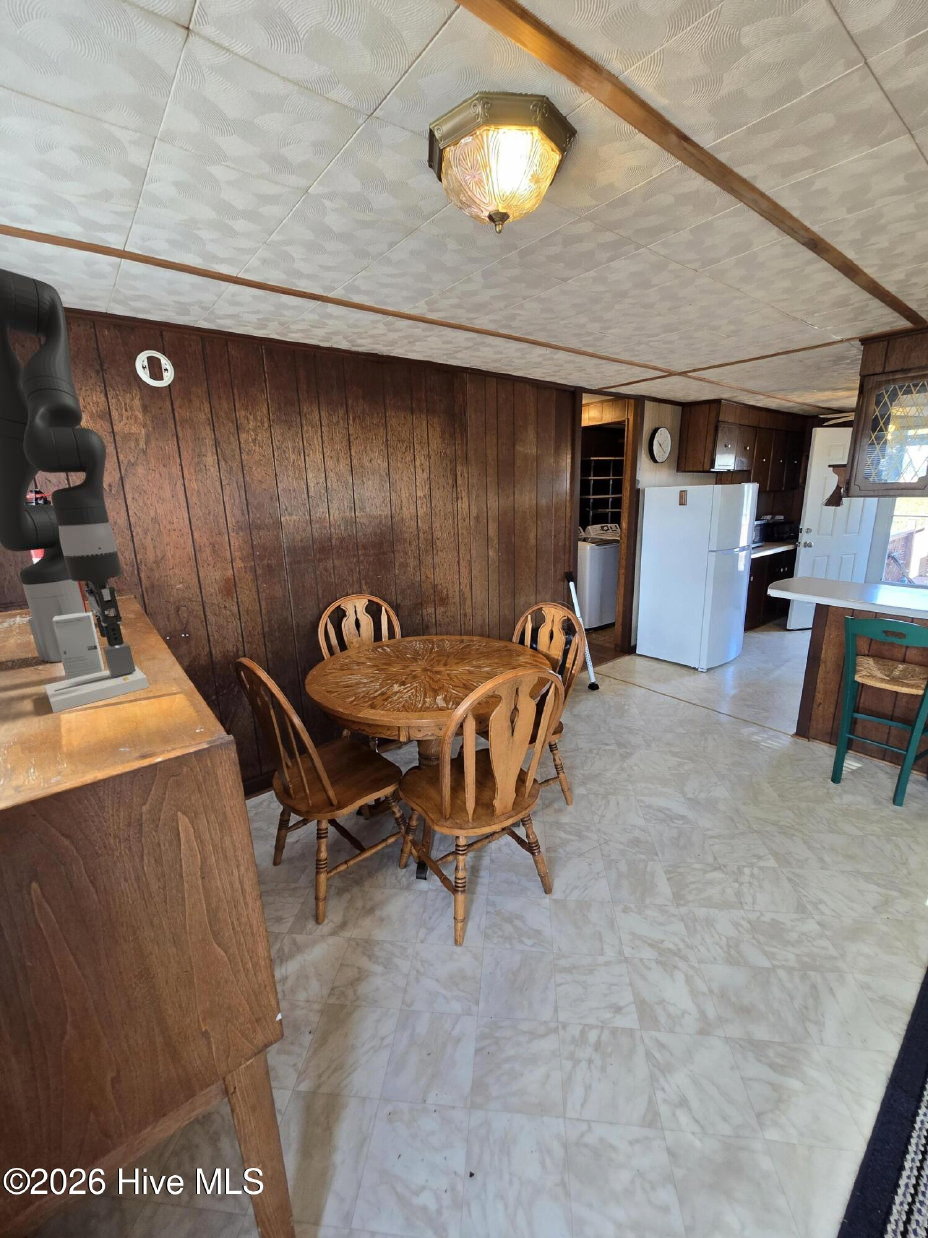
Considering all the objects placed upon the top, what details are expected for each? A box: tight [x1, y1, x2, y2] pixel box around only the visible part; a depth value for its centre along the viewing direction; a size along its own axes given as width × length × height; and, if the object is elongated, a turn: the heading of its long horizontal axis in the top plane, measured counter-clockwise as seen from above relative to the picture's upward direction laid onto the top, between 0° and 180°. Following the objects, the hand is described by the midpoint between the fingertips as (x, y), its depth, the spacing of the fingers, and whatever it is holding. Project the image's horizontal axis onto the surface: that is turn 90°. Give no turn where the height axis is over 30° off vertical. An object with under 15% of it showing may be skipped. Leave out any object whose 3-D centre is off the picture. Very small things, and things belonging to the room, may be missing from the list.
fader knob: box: [102, 642, 136, 677], centre depth 90 cm, size 4×3×5 cm
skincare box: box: [52, 611, 105, 680], centre depth 97 cm, size 6×4×12 cm
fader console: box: [44, 664, 150, 714], centre depth 88 cm, size 14×11×2 cm
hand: (112, 640), depth 89 cm, fingers open, 8 cm apart
